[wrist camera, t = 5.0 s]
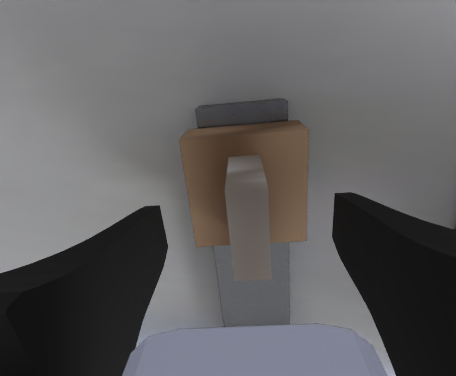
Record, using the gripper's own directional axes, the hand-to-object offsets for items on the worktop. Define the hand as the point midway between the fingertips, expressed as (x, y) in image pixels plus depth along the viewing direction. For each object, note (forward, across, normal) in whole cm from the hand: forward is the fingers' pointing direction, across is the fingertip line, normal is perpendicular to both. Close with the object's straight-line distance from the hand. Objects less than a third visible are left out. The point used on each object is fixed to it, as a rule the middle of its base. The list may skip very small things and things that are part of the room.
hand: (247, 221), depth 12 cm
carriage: (+5, 0, 0) cm, 5 cm away
